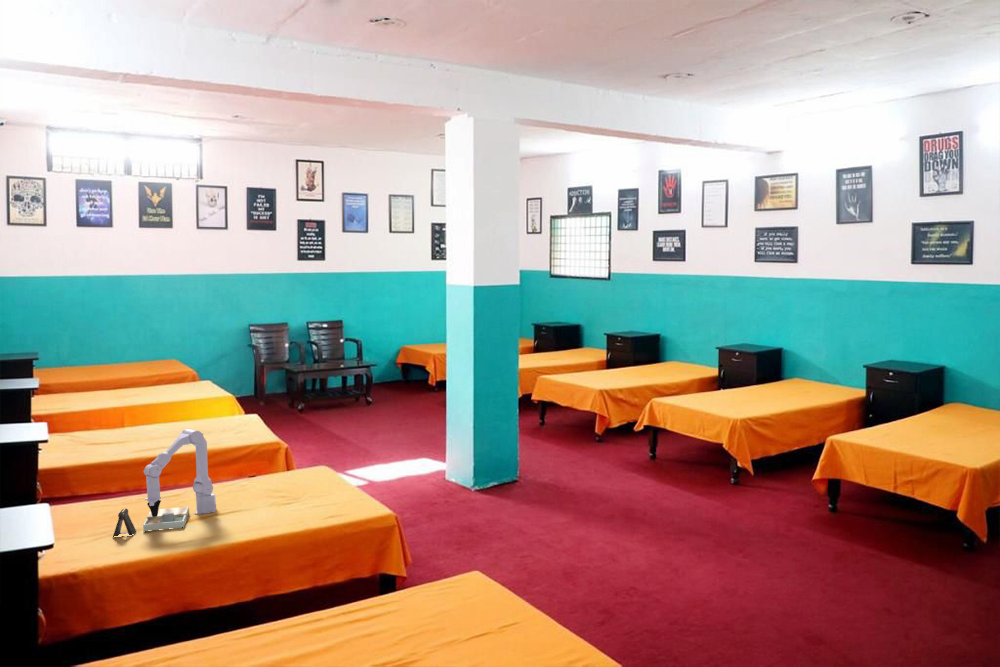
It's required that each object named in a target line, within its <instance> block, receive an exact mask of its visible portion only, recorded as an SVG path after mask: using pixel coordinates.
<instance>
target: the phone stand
mask: <svg viewBox="0 0 1000 667" xmlns="http://www.w3.org/2000/svg"><path fill="white" fill-rule="evenodd" d="M117 516H118V518H117V519H118V520H117V523H116V526H115V530H114V533H113V535H112V538H113V537H114V536H118V535H119V534H126V533H128V534H129V535H132V534H134V533H135V532H136V533H137V530H136V528H135V526H134V523H133V521H132V519H131V517H130V515H129V509H127V508H123V509H121V510H120V512H119V513H118V515H117ZM123 522H124V525H125V528H126V530H127V531H126V532H125V531H124V532H123V531H122V526H123ZM121 531H122V532H121ZM136 533H135V534H136ZM135 534H134V535H135Z"/></svg>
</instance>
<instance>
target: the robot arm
mask: <svg viewBox="0 0 1000 667" xmlns="http://www.w3.org/2000/svg"><path fill="white" fill-rule="evenodd" d="M190 444H192V445H193V446H194V447H195V463H196V464H195V466H196V470H195V472H196V477H195V478H194V479H193V481H194V482H193V485H192V490H193V492H194V493H195V502H196V510H195V513H194V515H202V513H203V514H211V513H210V512H214V513H216V510H215V509H217V504H216V503H217V502H216V501H217V500H216V493H213V490H214V486H213V484H212V479H211V478H210V477H209V471H208V470H209V466H208V442H207V440H206V438H205V436H204V433H203V432H202V431H200V430H195V429H194V430H193V429H190V428H185V429H183V430H182V432H181V433H179V434H178V437H177V438H176V440H174V442H173V443H172V444H171V445H170V446H169V447H168V448H167V450H166V451H164V452H160V453H158V454H157V457H156V458H155V459H154V460H153V461H151V462H150V463H149V464H147V465H146V466H145V468H144V470H142V471H143V474H144V475H145V477H146V480H145V481H146V495H147V497H145V498H144V501H147V506H148V508H149V509H150V510H149V511H151V514H152V516H153V517H155V516H157V515H158V509H160V508H159V507H160V504H161V502H162V500H161V499H162V496H161V488H160V487H161V486H160V476H161V474H162V470H163V469H164V468H165V467H166V466H167V465H168V464H169V462H170V461H171V460H172V456H174V454H175V453H177V451H178V450H179V449H181V448H182V447H183V446H185V445H190Z"/></svg>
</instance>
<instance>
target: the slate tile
mask: <svg viewBox="0 0 1000 667" xmlns="http://www.w3.org/2000/svg"><path fill="white" fill-rule="evenodd" d="M162 519H163V523H164V522H174V513H165V514H162Z"/></svg>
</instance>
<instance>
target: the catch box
mask: <svg viewBox="0 0 1000 667" xmlns="http://www.w3.org/2000/svg"><path fill="white" fill-rule="evenodd" d="M155 521H160V523H154V524H148V523H149V522H155ZM185 523H187V521H186V515H184V517H178V518H174V522H164V523H163V519H157V520H148V519H147V518H146V519H145V521H144V523H143V524H142V526H143V527H142V528H143V530H142V531H143V532H144V531H148V530H159V529H169V528H179V529H183V528H182V527H184V528H185V526H186V524H185ZM169 530H170V529H169ZM159 531H160V530H159Z"/></svg>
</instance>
